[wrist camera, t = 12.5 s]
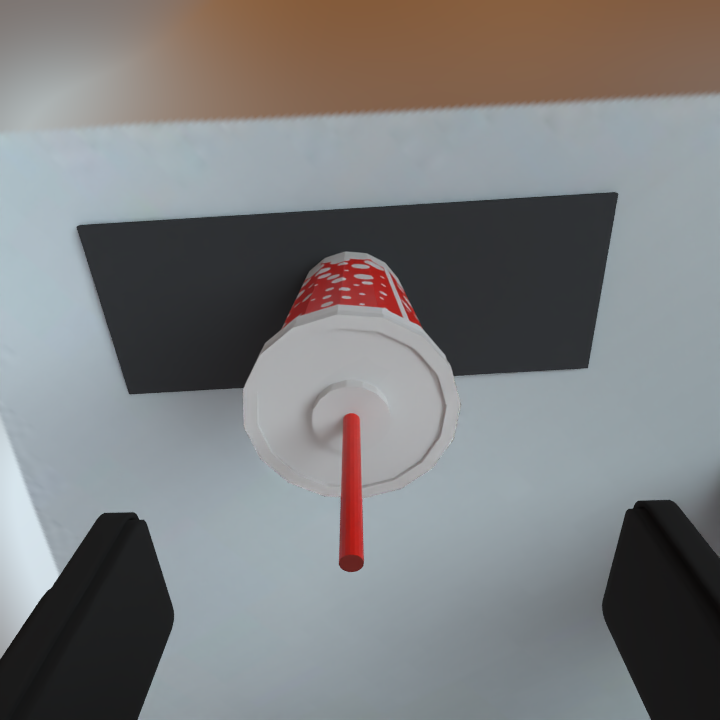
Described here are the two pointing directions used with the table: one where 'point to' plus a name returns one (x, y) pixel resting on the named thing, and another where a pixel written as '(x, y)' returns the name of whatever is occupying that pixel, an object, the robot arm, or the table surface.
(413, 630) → the table surface
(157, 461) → the table surface
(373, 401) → the beverage cup
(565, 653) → the table surface
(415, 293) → the mat
